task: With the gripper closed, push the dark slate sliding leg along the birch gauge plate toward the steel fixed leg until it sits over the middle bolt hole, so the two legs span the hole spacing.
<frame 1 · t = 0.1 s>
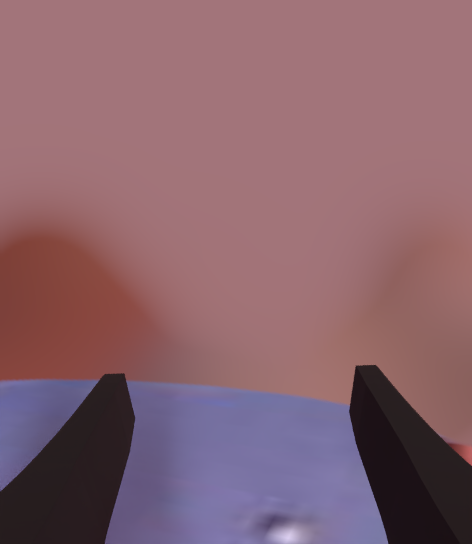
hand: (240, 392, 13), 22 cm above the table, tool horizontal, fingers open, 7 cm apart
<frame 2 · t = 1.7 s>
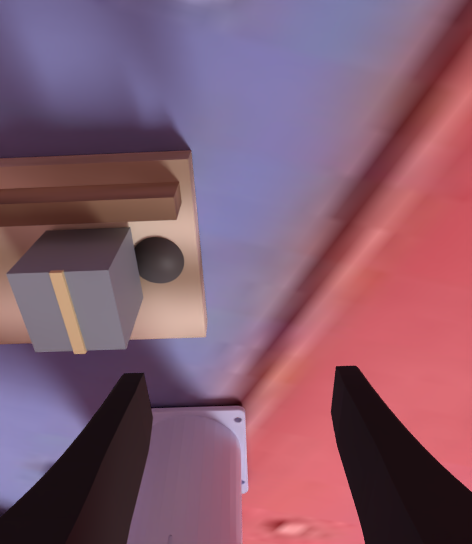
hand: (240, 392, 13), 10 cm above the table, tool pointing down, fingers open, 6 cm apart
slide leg: (84, 288, 19), point 4 cm above the table, slide at 0.0 cm
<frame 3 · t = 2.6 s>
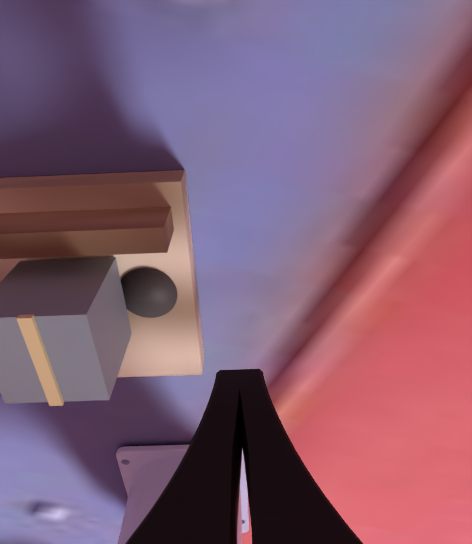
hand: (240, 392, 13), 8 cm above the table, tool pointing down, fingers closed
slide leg: (62, 328, 16), point 4 cm above the table, slide at 0.0 cm
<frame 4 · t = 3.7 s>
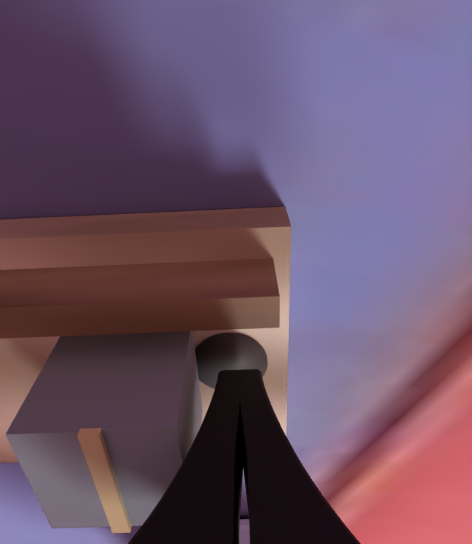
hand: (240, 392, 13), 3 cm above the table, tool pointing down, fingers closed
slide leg: (124, 421, 12), point 4 cm above the table, slide at 0.1 cm, touching gripper
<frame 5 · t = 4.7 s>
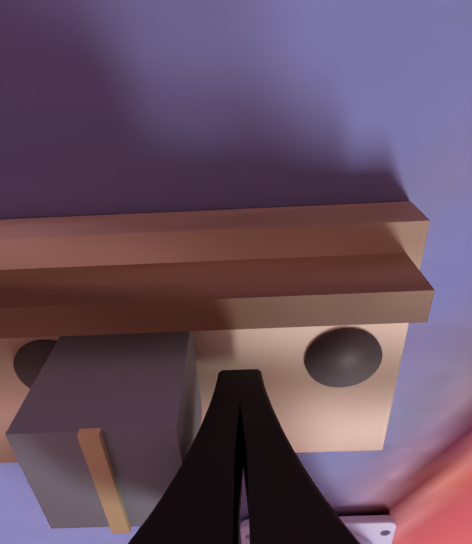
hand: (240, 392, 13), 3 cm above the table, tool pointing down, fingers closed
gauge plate: (68, 340, 16), on the table
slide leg: (124, 421, 12), point 4 cm above the table, slide at 4.0 cm, touching gripper
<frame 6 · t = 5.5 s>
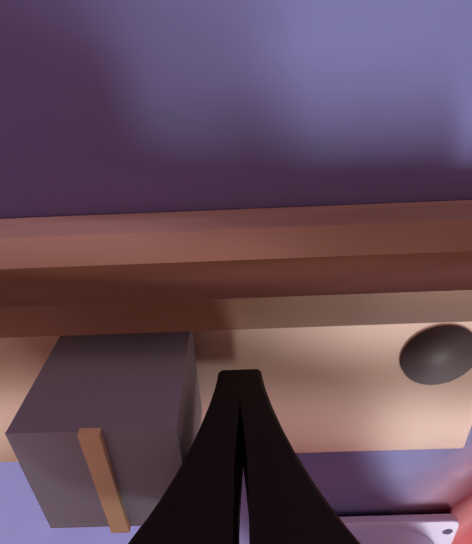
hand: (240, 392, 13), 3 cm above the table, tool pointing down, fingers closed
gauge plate: (154, 337, 16), on the table
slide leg: (124, 421, 12), point 4 cm above the table, slide at 7.3 cm, touching gripper
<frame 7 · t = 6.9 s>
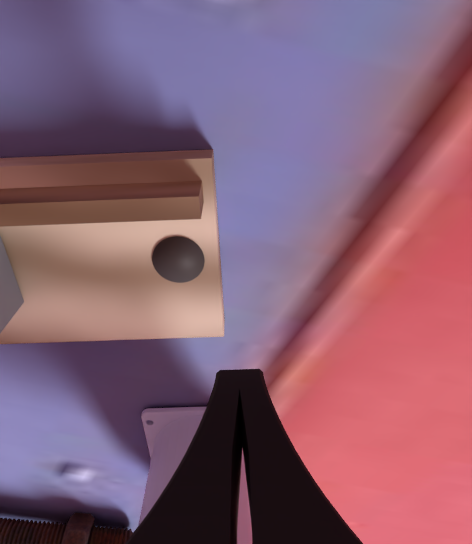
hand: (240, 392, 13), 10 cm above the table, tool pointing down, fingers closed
bolt: (49, 513, 36), on the table
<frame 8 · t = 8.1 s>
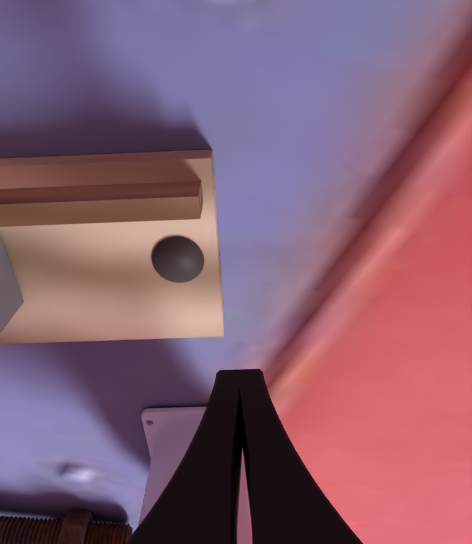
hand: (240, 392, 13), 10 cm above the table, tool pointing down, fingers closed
bolt: (47, 510, 35), on the table
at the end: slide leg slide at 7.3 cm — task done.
